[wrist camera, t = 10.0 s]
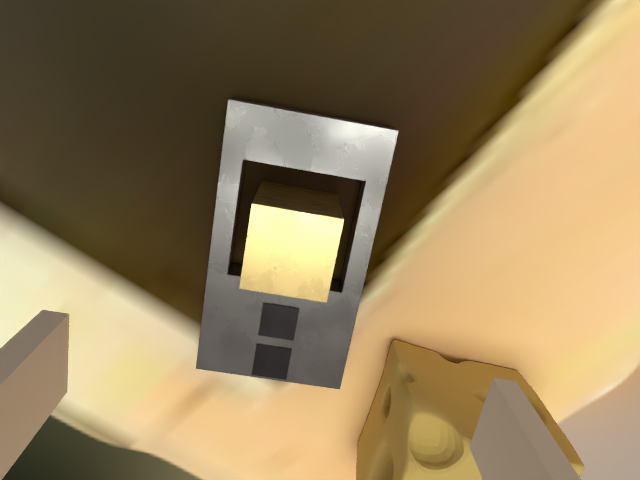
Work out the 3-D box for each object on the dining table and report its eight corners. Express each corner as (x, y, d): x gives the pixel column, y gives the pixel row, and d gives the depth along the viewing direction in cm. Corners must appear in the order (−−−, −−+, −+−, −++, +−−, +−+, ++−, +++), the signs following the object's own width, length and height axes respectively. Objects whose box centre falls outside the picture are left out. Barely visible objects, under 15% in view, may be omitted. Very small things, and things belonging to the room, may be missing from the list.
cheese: (389, 335, 36) (418, 429, 27) (528, 367, 37) (601, 468, 28) (349, 449, 39) (361, 569, 30) (477, 476, 41) (528, 599, 31)
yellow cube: (261, 180, 32) (251, 203, 27) (338, 193, 33) (343, 219, 27) (251, 252, 34) (239, 288, 28) (323, 264, 34) (326, 302, 29)
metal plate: (233, 97, 31) (228, 99, 29) (393, 127, 31) (398, 131, 29) (201, 352, 36) (195, 369, 34) (338, 372, 37) (339, 389, 35)
